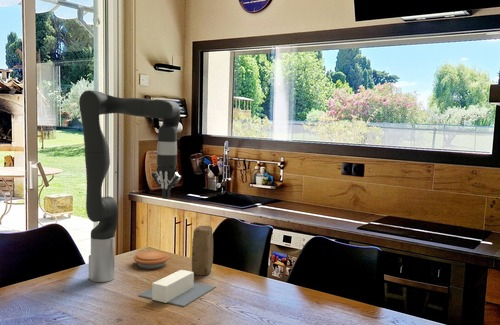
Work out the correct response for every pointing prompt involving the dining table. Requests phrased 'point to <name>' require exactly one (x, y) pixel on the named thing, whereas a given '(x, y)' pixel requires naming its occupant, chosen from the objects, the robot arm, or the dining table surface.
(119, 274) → the dining table surface
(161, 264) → the pie
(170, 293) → the tall cream block
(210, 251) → the tan textured post
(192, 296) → the mat
